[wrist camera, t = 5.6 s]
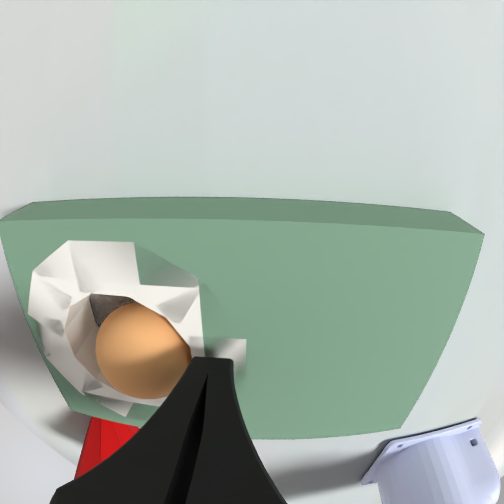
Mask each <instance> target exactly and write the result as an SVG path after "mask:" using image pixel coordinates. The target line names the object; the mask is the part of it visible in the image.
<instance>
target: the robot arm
mask: <svg viewBox="0 0 504 504" xmlns="http://www.w3.org/2000/svg"><path fill="white" fill-rule="evenodd" d="M481 423H482V420H481V419H480V418H479V419H475V420H472V421H469V422H466V423H463V424H460V425H456V426H453V427H449V428H446V429H442V430H438V431H434V432H430V433H426V434H422V435H417V436H413V437H408V438H403V439H398V440H393V441H391V442H389V443H388V444H387V445H386V447H385V448H384V450H383V451H382V453H381V454H380V455H379V457H378V458H377V460H376V461H375V462H374V464H373V465H372V466H371V468H370V469H369V470H368V472H367V473H366V474H365V475H364V477H363V478H362V479H361V481H360V483H361V485H366V484H371V483H378V487H379V492H380V497H381V501H382V504H496V502H497V500H498V498H499V494H500V477H499V474H498V471H497V469H496V466H495V464H494V462H493V459H492V457H491V455H490V453H489V450H488V448H487V446H486V444H485V442H484V439H483V437H482V435H481V433H480V431H479V429H478V427H479V426H480V424H481ZM50 504H287V503H286V501H285V500H284V498H283V497H282V495H281V494H280V493H279V491H278V489H277V488H276V486H275V484H274V483H273V481H272V479H271V478H270V476H269V474H268V473H267V471H266V469H265V467H264V465H263V464H262V462H261V460H260V458H259V456H258V454H257V451H256V449H255V447H254V445H253V443H252V440H251V438H250V435H249V433H248V430H247V428H246V425H245V422H244V419H243V416H242V413H241V410H240V406H239V402H238V398H237V394H236V390H235V384H234V361H233V360H232V359H230V358H214V357H199V356H195V357H193V358H192V360H191V361H190V363H189V365H188V367H187V368H186V370H185V372H184V373H183V375H182V376H181V378H180V380H179V381H178V383H177V384H176V386H175V387H174V388H173V390H172V391H171V392H170V394H169V395H168V397H167V398H166V399H165V401H164V402H163V403H162V404H161V406H160V407H159V408H158V409H157V410H156V412H155V413H154V414H153V415H152V416H151V418H150V419H149V420H148V421H147V422H146V423H145V424H144V425H143V426H142V427H141V429H140V430H139V431H138V432H137V433H136V434H135V435H134V436H132V437H131V438H130V439H129V440H128V441H127V442H126V443H125V444H124V445H123V446H121V447H120V448H119V449H118V450H117V451H116V452H114V453H113V454H112V455H111V456H109V457H108V458H107V459H105V460H104V461H102V462H101V463H100V464H98V465H97V466H95V467H94V468H92V469H91V470H89V471H88V472H86V473H85V474H83V475H81V476H80V477H78V478H76V479H74V480H72V481H71V482H69V483H67V484H65V485H63V486H61V487H59V488H57V489H56V492H55V494H54V495H53V497H52V499H51V501H50Z"/></svg>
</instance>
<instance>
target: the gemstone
mask: <svg viewBox="0 0 504 504" xmlns="http://www.w3.org/2000/svg"><path fill="white" fill-rule="evenodd" d="M138 431H139V429H138V428H137V426H132V425H127V424H122V423H118V422H113V421H109V420H105V419H101V418H97V417H93V416H92V418H91V421H90V424H89V427H88V431H87V434H86V437H85V441H84V444H83V448H82V451H81V455H80V459H79V462H78V466H77V470H76V474H75V478H74V479H76V478H78V477H80V476H81V475H83V474H85V473H86V472H88V471H89V470H91V469H92V468H94V467H95V466H97V465H98V464H100V463H101V462H102V461H104V460H105V459H107V458H108V457H109V456H111V455H112V454H113V453H114V452H116V451H117V450H118V449H119V448H120V447H121V446H123V445H124V444H125V443H126V442H127V441H128V440H129V439H130V438H131V437H132V436H134V435H135V434H136V433H137V432H138Z"/></svg>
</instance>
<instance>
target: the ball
mask: <svg viewBox="0 0 504 504" xmlns="http://www.w3.org/2000/svg"><path fill="white" fill-rule="evenodd" d="M95 350H96V358H97V362H98V365H99V367H100V370H101V372H102V374H103V375H104V377H105V378H106V379H107V381H108V382H109V383H110V384H111V385H112V386H113V387H114V388H116V389H117V390H119V391H120V392H122V393H124V394H126V395H128V396H131V397H134V398H139V399H154V398H159V397H162V396H165V395H167V394H169V393H170V392H171V391H172V390H173V388H174V387H175V386H176V384H177V383H178V381H179V380H180V378H181V376H182V375H183V373H184V372H185V370H186V368H187V367H188V365H189V363H190V361H191V360H192V356H191V349H190V346H189V345H188V344H187V343H186V341H185V340H184V339H183V338H182V337H181V335H180V334H179V333H178V332H177V331H176V329H175V328H174V327H173V326H172V324H171V323H170V322H169V321H168V319H167V318H166V317H164V316H162V315H160V314H159V313H157V312H155V311H153V310H151V309H149V308H147V307H146V306H144V305H142V304H140V303H138V302H133V303H129V304H125V305H123V306H121V307H119V308H117V309H116V310H114V311H113V312H111V313H110V314H109V315H108V316H107V318H106V319H105V320H104V321H103V323H102V325H101V326H100V328H99V331H98V334H97V338H96V346H95Z"/></svg>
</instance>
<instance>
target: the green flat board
mask: <svg viewBox="0 0 504 504" xmlns="http://www.w3.org/2000/svg"><path fill="white" fill-rule="evenodd" d="M484 235H485V234H484V233H482V232H481V231H479V230H478V229H476V228H475V227H473V226H472V225H470V224H469V223H467V222H465V221H464V220H462V219H461V218H459V217H458V216H456V215H454V214H453V213H451V212H445V211H436V210H427V209H418V208H408V207H397V206H386V205H374V204H361V203H347V202H331V201H314V200H294V199H269V198H233V197H139V198H104V199H80V200H61V201H45V202H32V203H30V204H28V205H26V206H25V207H23V208H21V209H19V210H17V211H15V212H13V213H11V214H9V215H8V216H6V217H4V218H2V219H0V237H1V241H2V245H3V249H4V253H5V256H6V260H7V264H8V267H9V271H10V274H11V277H12V280H13V283H14V287H15V290H16V292H17V295H18V298H19V301H20V304H21V307H22V309H23V312H24V315H25V317H26V320H27V322H28V325H29V327H30V330H31V332H32V334H33V337H34V339H35V341H36V344H37V346H38V348H39V350H40V352H41V355H42V357H43V359H44V361H45V363H46V365H47V367H48V369H49V371H50V373H51V375H52V377H53V379H54V381H55V383H56V384H57V386H58V388H59V390H60V392H61V394H62V395H63V397H64V399H65V401H66V402H67V404H68V406H69V407H70V409H71V410H72V411H75V412H78V413H82V414H86V415H89V416H93V417H97V418H101V419H105V420H109V421H113V422H118V423H122V424H127V425H132V426H137V427H142V426H143V425H144V424H145V423H146V422H147V421H148V420H149V419H150V418H151V416H152V415H153V414H154V413H155V412H156V410H157V409H158V408H159V407H160V406H161V404H162V403H163V402H164V401H165V399H166V398H167V397H168V395H169V394H170V393H169V394H167V395H165V396H162V397H159V398H154V399H139V398H134V397H131V396H128V395H126V394H124V393H122V392H120V391H119V390H117V389H116V388H114V387H113V386H112V385H111V384H110V383H109V382H108V381H107V379H106V378H105V377H104V375H103V374H102V372H101V370H100V367H99V365H98V362H97V358H96V350H95V346H96V338H97V334H98V331H99V327H98V326H97V324H96V322H95V318H94V315H93V311H92V308H91V304H90V301H89V297H90V294H92V293H94V294H104V295H115V296H127V297H130V298H131V299H133V300H135V301H137V302H138V303H140V304H142V305H144V306H146V307H147V308H149V309H151V310H153V311H155V312H157V313H159V314H160V315H162V316H164V317H166V318H167V319H168V321H169V322H170V323H171V324H172V326H173V327H174V328H175V329H176V331H177V332H178V333H179V334H180V335H181V337H182V338H183V339H184V340H185V341H186V343H187V344H188V345H189V346H190V349H191V356H192V358H193V357H195V356H199V357H214V358H230V359H232V360H233V361H234V384H235V390H236V394H237V398H238V402H239V406H240V410H241V413H242V416H243V419H244V422H245V425H246V428H247V430H248V433H249V435H250V438H251V439H312V438H328V437H340V436H350V435H359V434H367V433H374V432H381V431H388V430H394V429H399V428H401V426H402V425H403V423H404V422H405V420H406V418H407V417H408V415H409V413H410V412H411V410H412V409H413V407H414V405H415V403H416V402H417V400H418V398H419V396H420V395H421V393H422V391H423V389H424V388H425V386H426V384H427V382H428V380H429V378H430V376H431V374H432V372H433V370H434V369H435V367H436V365H437V363H438V360H439V358H440V356H441V354H442V352H443V350H444V348H445V346H446V343H447V341H448V339H449V337H450V334H451V332H452V330H453V327H454V325H455V323H456V320H457V318H458V315H459V313H460V310H461V307H462V305H463V302H464V299H465V297H466V294H467V291H468V288H469V285H470V282H471V279H472V276H473V273H474V270H475V267H476V264H477V260H478V257H479V253H480V250H481V246H482V242H483V239H484Z"/></svg>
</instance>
